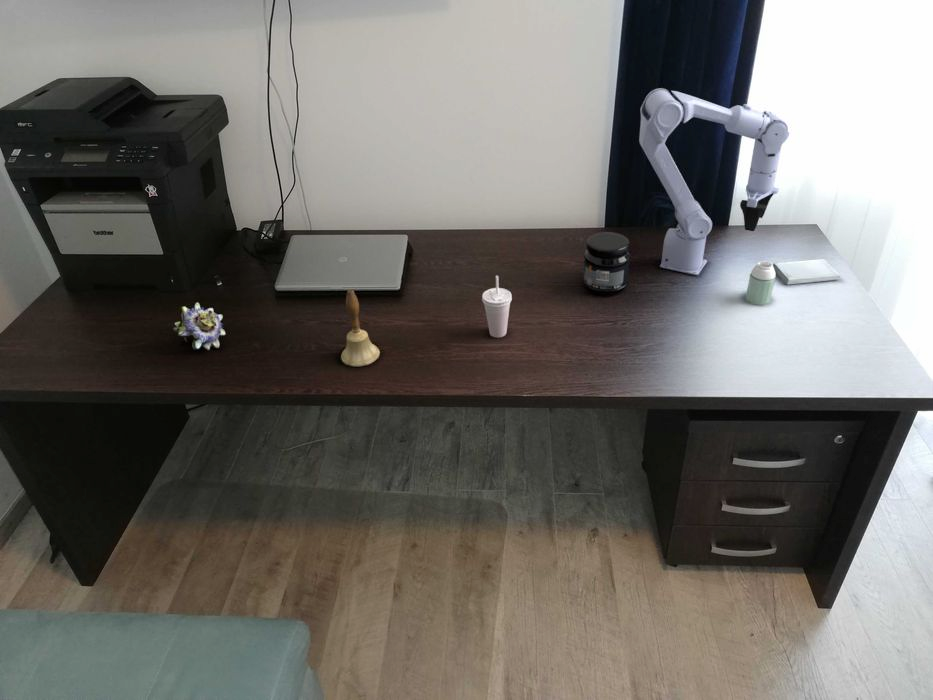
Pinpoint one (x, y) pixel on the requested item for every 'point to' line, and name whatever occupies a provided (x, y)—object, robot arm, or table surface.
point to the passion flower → (200, 327)
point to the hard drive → (805, 271)
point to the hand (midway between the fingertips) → (753, 223)
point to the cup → (759, 290)
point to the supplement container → (606, 263)
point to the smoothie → (497, 309)
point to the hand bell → (357, 338)
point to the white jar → (763, 271)
